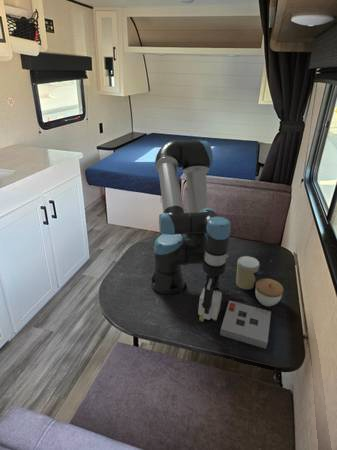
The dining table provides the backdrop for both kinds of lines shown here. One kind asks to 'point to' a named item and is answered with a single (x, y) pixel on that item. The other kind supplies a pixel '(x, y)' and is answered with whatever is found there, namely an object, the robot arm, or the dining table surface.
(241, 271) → the coffee cup
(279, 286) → the lidded jar
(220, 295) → the plug
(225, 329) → the socket
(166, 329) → the dining table surface
